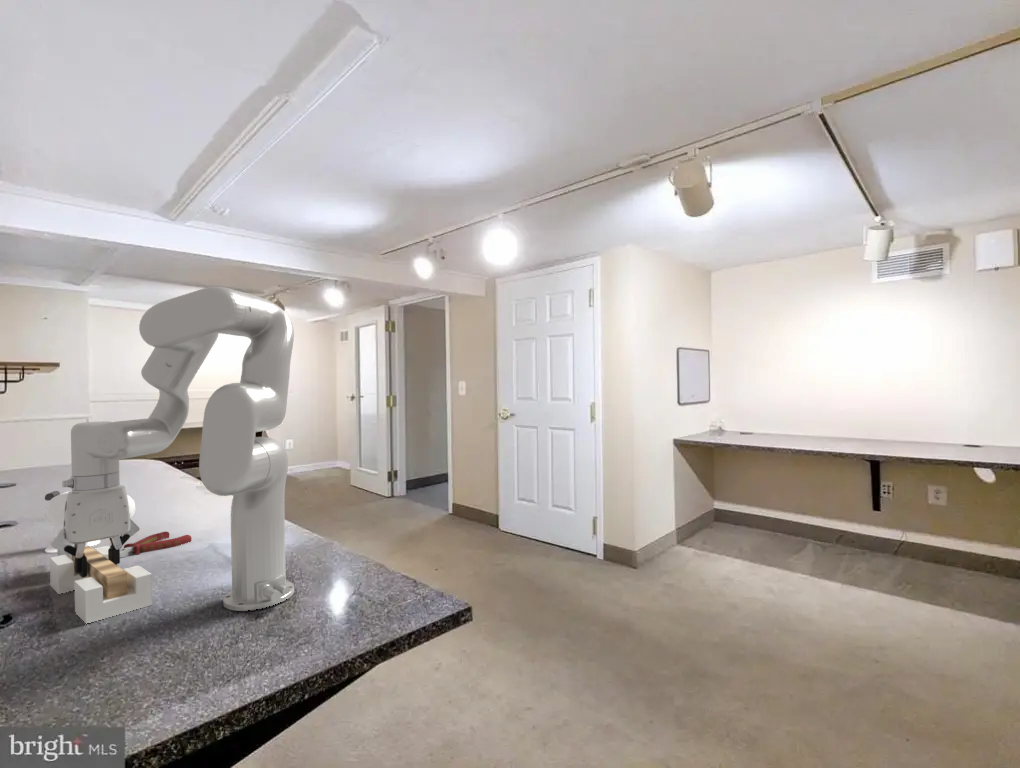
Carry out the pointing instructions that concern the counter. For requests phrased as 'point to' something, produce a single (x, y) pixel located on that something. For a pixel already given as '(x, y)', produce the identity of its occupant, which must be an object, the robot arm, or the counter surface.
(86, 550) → the slat
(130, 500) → the light bulb
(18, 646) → the counter surface
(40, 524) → the counter surface
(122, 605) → the end caps
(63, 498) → the panda figurine
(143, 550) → the pliers
